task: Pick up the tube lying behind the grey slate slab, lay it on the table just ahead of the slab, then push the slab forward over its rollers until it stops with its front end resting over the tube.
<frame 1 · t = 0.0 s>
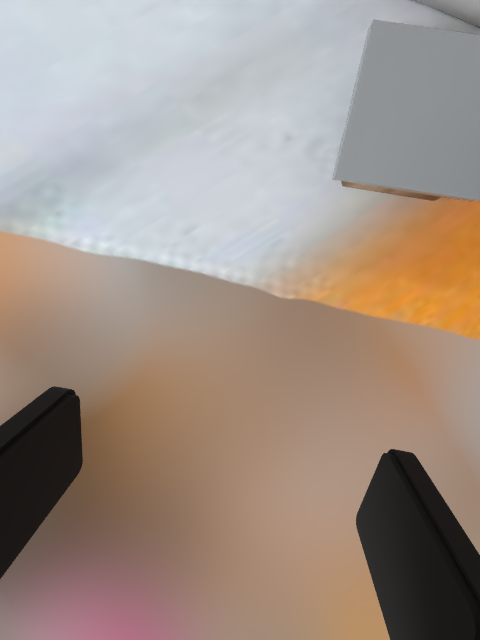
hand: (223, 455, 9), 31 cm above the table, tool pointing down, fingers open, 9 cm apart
rollers: (396, 137, 32), on the table
slab: (426, 119, 26), point 6 cm above the table, slide at 0.0 cm
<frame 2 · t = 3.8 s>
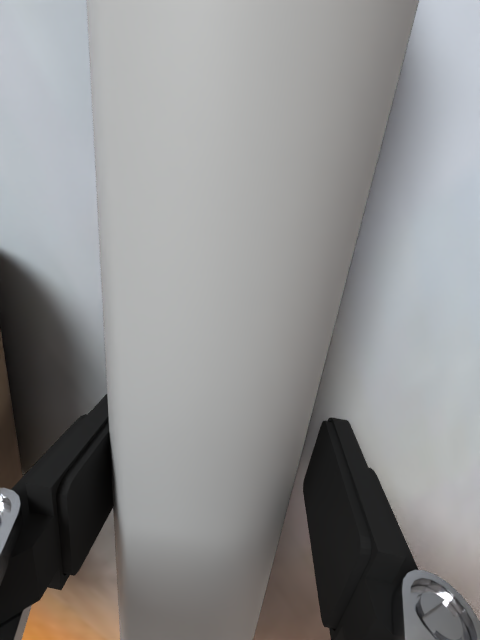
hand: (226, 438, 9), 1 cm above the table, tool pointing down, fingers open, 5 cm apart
tube: (219, 402, 10), on the table, touching gripper
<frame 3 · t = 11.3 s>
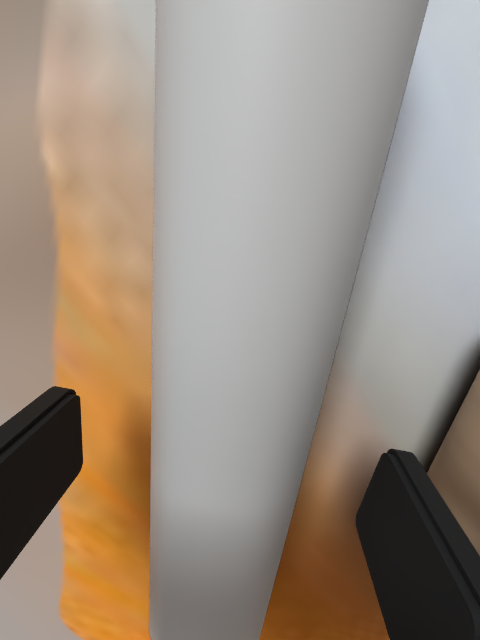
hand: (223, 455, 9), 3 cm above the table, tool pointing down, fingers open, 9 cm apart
tube: (237, 386, 12), on the table
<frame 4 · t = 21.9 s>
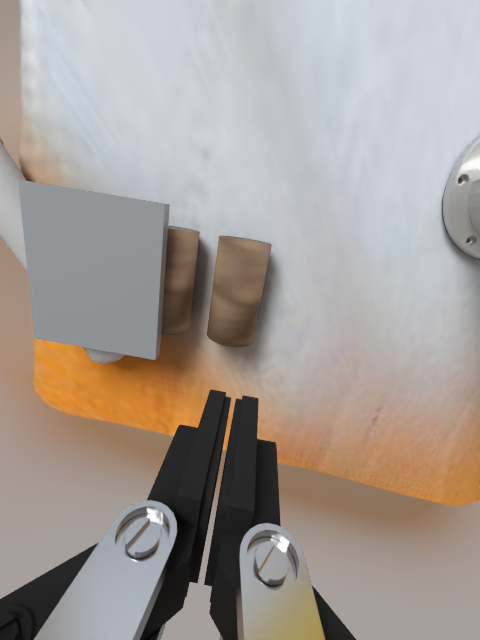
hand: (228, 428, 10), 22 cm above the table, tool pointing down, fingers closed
rollers: (208, 280, 31), on the table
tube: (68, 258, 32), on the table
slab: (96, 276, 25), point 6 cm above the table, slide at 9.0 cm
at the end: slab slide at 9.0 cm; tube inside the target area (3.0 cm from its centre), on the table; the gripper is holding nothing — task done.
